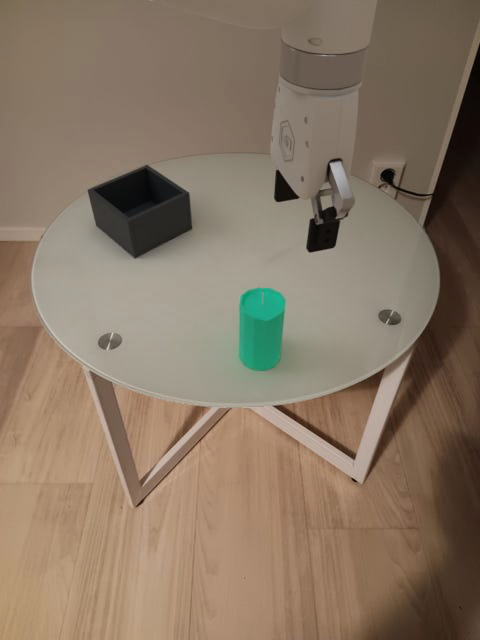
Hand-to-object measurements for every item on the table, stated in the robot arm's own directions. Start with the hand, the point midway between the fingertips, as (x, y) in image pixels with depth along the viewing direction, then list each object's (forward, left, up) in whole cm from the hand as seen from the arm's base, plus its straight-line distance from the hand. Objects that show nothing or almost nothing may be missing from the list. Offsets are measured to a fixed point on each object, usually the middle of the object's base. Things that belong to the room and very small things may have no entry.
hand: (302, 222), depth 57 cm
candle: (-4, +2, -22) cm, 23 cm away
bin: (+1, +38, -22) cm, 44 cm away
